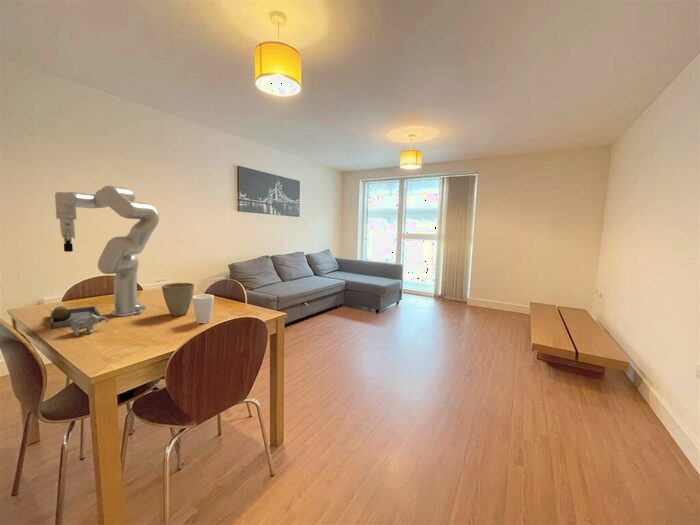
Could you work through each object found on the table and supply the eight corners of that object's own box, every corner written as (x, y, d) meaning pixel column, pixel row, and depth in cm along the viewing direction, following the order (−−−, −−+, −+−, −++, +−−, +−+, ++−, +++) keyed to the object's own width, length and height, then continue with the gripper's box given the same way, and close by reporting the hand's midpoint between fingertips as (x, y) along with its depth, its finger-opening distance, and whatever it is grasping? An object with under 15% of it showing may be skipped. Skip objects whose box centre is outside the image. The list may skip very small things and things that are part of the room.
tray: (100, 321, 137) (100, 316, 137) (50, 328, 126) (50, 323, 125) (95, 310, 154) (95, 306, 153) (51, 316, 142) (50, 311, 141)
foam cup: (217, 320, 147) (217, 296, 145) (201, 325, 138) (201, 299, 137) (205, 317, 150) (204, 293, 149) (188, 322, 142) (188, 296, 141)
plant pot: (199, 310, 162) (199, 283, 160) (185, 318, 147) (185, 288, 146) (172, 309, 162) (172, 282, 160) (155, 317, 147) (155, 287, 145)
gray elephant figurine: (66, 334, 121) (64, 317, 120) (100, 325, 132) (98, 309, 131) (78, 339, 117) (76, 321, 116) (112, 329, 128) (110, 312, 127)
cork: (74, 314, 137) (72, 310, 144) (62, 306, 134) (60, 302, 141) (61, 324, 134) (60, 319, 141) (48, 316, 131) (47, 311, 138)
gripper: (77, 217, 147) (79, 252, 149) (75, 217, 158) (77, 250, 160) (56, 216, 142) (58, 252, 144) (56, 216, 152) (58, 250, 154)
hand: (68, 251), depth 152 cm, fingers closed
